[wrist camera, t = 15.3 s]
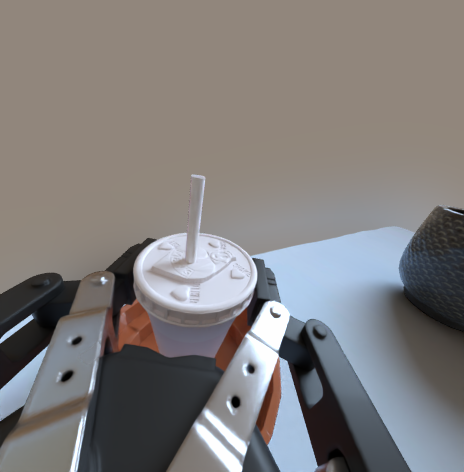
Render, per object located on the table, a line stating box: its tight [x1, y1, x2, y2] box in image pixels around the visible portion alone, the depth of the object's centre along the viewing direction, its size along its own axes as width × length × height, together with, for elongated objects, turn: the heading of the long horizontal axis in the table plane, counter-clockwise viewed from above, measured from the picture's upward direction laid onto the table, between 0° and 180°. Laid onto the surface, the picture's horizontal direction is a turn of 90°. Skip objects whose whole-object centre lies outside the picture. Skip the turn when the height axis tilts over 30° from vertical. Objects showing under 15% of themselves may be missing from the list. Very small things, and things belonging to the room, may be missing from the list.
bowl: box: [119, 298, 281, 445], centre depth 14 cm, size 14×14×4 cm
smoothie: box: [133, 175, 257, 358], centre depth 10 cm, size 6×6×14 cm
